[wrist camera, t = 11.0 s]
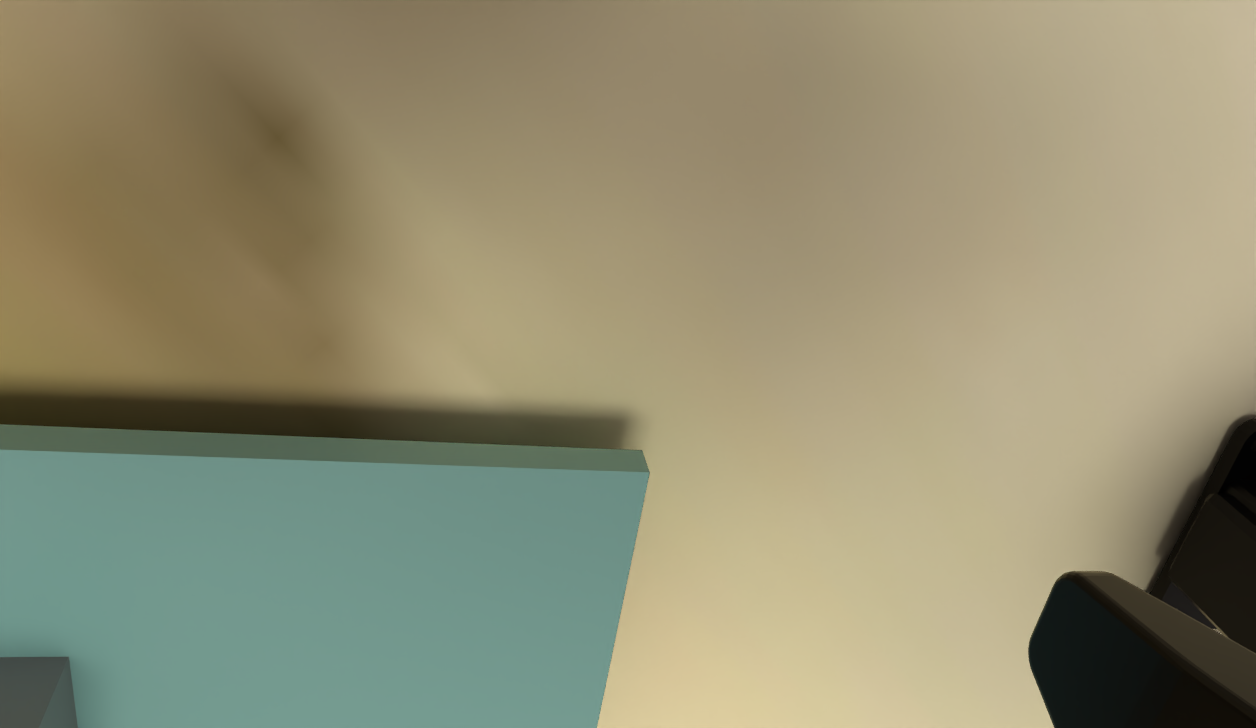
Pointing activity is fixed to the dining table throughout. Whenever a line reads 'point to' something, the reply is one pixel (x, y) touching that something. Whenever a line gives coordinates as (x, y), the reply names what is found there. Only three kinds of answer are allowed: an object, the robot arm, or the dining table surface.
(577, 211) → the dining table surface
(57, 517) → the lid
